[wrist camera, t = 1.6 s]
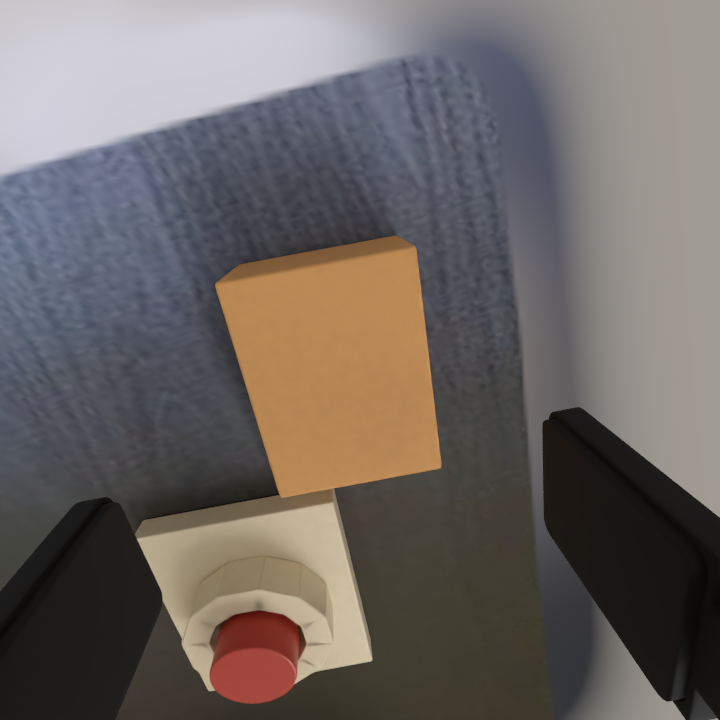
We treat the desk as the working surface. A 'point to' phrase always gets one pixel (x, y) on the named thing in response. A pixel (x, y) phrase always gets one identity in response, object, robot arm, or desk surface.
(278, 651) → the button
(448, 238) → the desk surface
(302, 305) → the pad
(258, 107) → the desk surface
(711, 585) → the robot arm
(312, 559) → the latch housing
